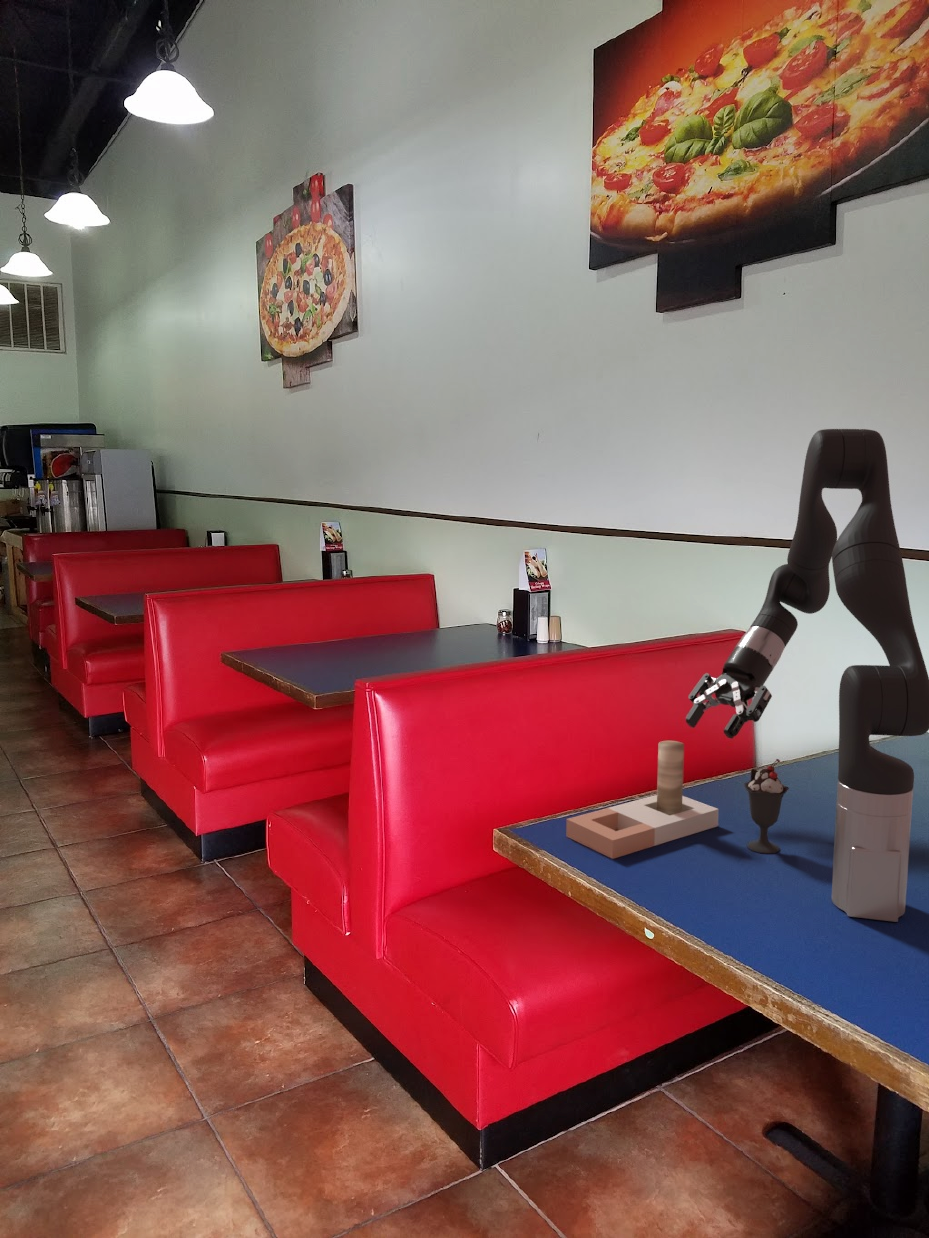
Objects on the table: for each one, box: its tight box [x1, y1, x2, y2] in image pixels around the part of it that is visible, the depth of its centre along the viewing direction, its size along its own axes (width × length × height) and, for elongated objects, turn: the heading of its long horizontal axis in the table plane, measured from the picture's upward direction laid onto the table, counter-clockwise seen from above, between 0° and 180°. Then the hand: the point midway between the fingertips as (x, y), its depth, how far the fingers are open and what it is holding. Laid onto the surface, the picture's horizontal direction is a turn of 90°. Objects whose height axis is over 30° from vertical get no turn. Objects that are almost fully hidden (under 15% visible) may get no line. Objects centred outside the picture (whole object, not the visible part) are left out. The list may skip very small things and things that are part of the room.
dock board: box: [565, 794, 720, 860], centre depth 150 cm, size 24×11×3 cm, turn 124°
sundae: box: [743, 758, 789, 855], centre depth 142 cm, size 7×7×15 cm
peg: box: [656, 740, 685, 815], centre depth 153 cm, size 4×4×14 cm
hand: (708, 730), depth 156 cm, fingers open, 8 cm apart
